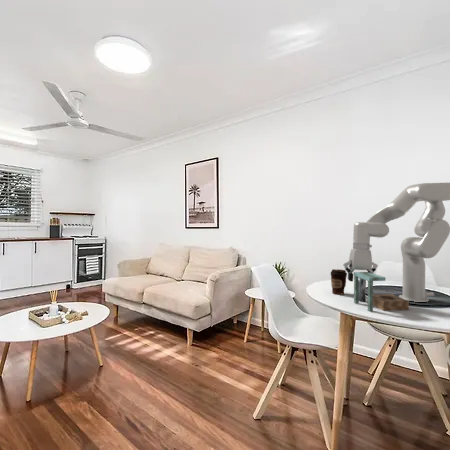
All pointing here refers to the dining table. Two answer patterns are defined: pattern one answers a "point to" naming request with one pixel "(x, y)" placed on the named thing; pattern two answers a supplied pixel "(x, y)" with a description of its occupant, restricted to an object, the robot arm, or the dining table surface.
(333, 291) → the coffee cup
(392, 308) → the socket station
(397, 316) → the dining table surface
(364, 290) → the peg
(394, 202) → the robot arm
